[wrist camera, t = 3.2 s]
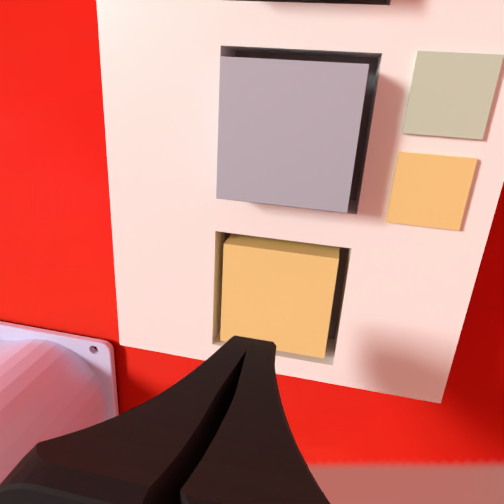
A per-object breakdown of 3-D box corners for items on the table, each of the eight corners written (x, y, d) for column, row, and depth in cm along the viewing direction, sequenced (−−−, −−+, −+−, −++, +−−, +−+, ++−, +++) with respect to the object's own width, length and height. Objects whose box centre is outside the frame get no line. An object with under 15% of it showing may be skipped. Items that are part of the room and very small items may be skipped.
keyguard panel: (148, 313, 22) (117, 347, 19) (129, -188, 15) (75, -257, 12) (427, 359, 20) (441, 406, 17) (574, -211, 12) (645, -306, 9)
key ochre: (231, 317, 20) (220, 340, 18) (236, 228, 18) (223, 243, 16) (326, 332, 19) (324, 358, 17) (340, 241, 17) (338, 259, 15)
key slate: (230, 185, 16) (216, 198, 14) (236, 60, 15) (220, 56, 13) (347, 198, 15) (347, 212, 14) (366, 67, 14) (369, 64, 12)
